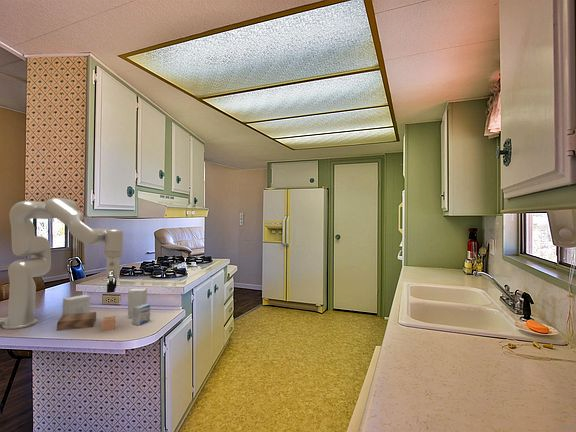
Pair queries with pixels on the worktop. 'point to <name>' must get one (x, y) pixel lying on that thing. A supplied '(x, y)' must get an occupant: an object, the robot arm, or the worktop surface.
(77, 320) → the walnut stand
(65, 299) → the skincare box
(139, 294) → the skincare box
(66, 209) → the robot arm
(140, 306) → the medicine box
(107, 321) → the terracotta cube
